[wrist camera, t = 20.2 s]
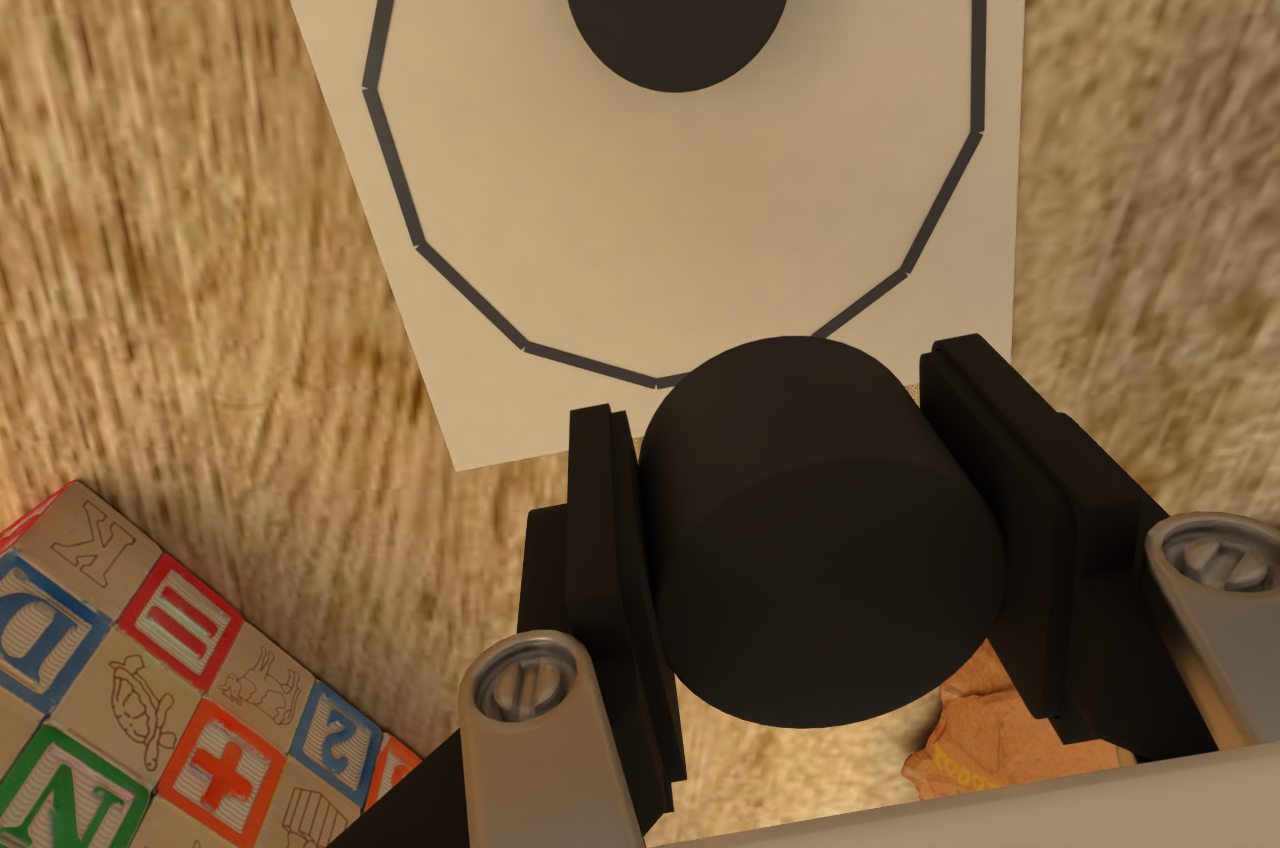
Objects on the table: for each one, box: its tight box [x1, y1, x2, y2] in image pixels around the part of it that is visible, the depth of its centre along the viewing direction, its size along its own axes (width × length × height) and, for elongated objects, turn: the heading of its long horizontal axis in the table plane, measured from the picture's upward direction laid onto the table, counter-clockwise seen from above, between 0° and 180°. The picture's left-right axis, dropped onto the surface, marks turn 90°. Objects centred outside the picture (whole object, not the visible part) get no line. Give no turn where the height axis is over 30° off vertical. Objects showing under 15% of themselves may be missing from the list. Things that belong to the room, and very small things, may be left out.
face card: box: [290, 0, 1025, 472], centre depth 19 cm, size 16×15×1 cm
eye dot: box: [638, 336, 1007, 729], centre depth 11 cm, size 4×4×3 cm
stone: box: [901, 638, 1120, 801], centre depth 27 cm, size 15×15×10 cm
